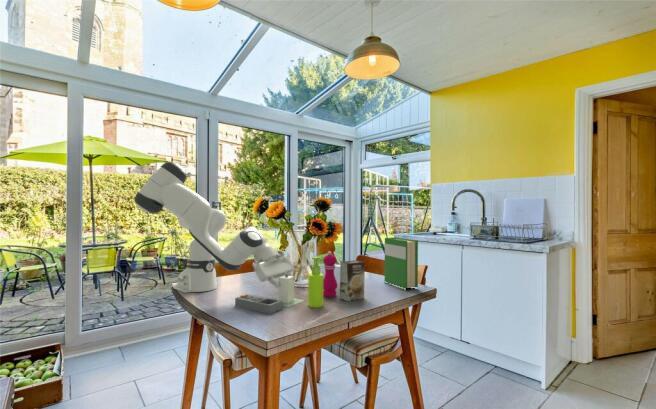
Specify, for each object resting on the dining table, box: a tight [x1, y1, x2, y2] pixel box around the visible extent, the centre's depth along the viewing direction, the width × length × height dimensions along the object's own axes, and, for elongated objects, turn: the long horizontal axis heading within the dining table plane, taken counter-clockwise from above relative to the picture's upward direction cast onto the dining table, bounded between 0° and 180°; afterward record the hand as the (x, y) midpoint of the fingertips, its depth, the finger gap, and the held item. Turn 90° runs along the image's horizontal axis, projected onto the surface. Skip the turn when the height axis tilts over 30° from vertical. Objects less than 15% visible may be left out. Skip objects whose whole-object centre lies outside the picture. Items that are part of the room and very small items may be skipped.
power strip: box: [234, 293, 284, 315], centre depth 124 cm, size 18×7×5 cm, turn 58°
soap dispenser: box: [307, 255, 325, 308], centre depth 128 cm, size 6×7×20 cm
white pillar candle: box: [278, 273, 295, 303], centre depth 132 cm, size 4×4×12 cm
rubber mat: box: [275, 297, 306, 308], centre depth 132 cm, size 11×11×1 cm
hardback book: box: [384, 236, 419, 289], centre depth 164 cm, size 18×7×24 cm, turn 24°
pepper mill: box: [322, 250, 338, 298], centre depth 146 cm, size 7×7×20 cm
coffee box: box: [339, 260, 366, 302], centre depth 141 cm, size 9×6×16 cm
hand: (285, 284), depth 133 cm, fingers open, 8 cm apart
